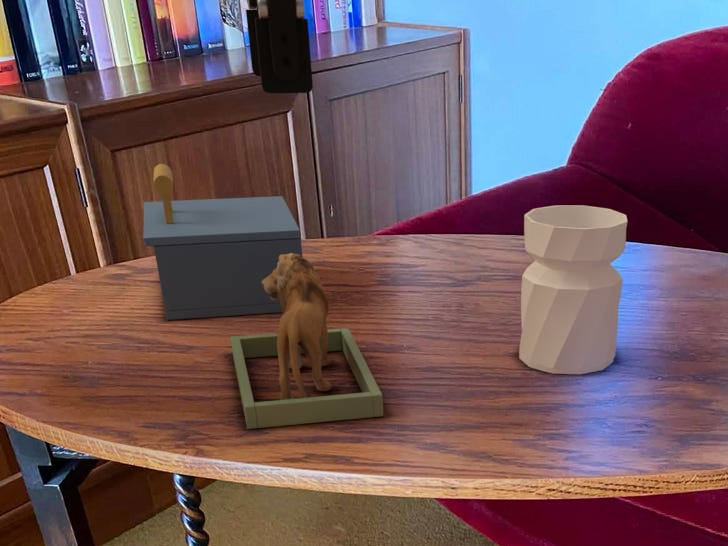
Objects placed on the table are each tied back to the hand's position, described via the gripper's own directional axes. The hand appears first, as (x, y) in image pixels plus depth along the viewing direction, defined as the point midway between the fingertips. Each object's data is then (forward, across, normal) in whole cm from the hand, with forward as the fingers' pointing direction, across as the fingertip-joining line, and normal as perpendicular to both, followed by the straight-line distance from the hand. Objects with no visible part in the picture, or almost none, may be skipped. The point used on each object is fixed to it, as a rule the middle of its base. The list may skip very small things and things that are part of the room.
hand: (281, 83), depth 66 cm
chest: (+22, -31, -5) cm, 39 cm away
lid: (+16, -31, -5) cm, 35 cm away
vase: (+23, -4, +24) cm, 33 cm away
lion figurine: (+23, -5, 0) cm, 23 cm away
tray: (+22, -3, 0) cm, 23 cm away
